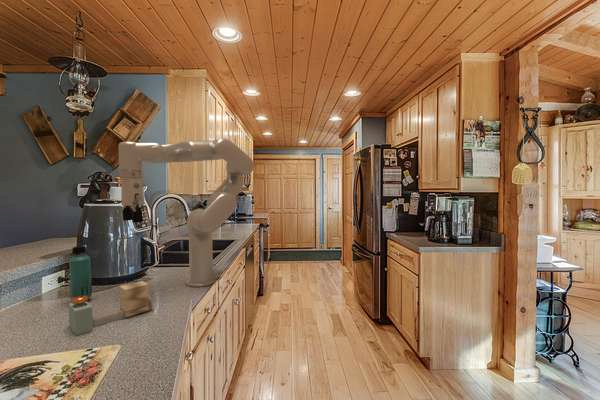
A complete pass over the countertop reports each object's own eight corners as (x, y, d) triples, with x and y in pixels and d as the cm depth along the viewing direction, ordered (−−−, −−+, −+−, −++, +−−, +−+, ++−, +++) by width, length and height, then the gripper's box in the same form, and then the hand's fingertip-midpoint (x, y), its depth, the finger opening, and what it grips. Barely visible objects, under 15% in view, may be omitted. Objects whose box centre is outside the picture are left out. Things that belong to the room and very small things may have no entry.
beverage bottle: (81, 305, 105) (78, 248, 104) (65, 304, 106) (62, 247, 105) (97, 298, 111) (95, 244, 110) (82, 297, 112) (80, 244, 112)
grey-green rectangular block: (85, 322, 92) (84, 299, 92) (93, 330, 87) (92, 306, 86) (69, 326, 89) (68, 303, 89) (76, 335, 84) (75, 311, 83)
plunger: (86, 314, 90) (85, 294, 90) (89, 318, 88) (88, 297, 88) (71, 318, 88) (70, 297, 87) (74, 322, 85) (73, 301, 85)
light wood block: (142, 306, 103) (142, 280, 103) (149, 310, 100) (148, 284, 99) (120, 312, 98) (119, 286, 97) (125, 317, 94) (125, 289, 94)
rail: (147, 306, 104) (146, 297, 104) (152, 310, 101) (152, 300, 101) (91, 322, 92) (90, 312, 91) (95, 327, 89) (94, 316, 88)
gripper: (151, 175, 109) (152, 222, 110) (133, 176, 121) (134, 218, 122) (128, 174, 104) (130, 224, 104) (112, 175, 115) (113, 220, 116)
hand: (132, 221), depth 113 cm, fingers open, 9 cm apart
